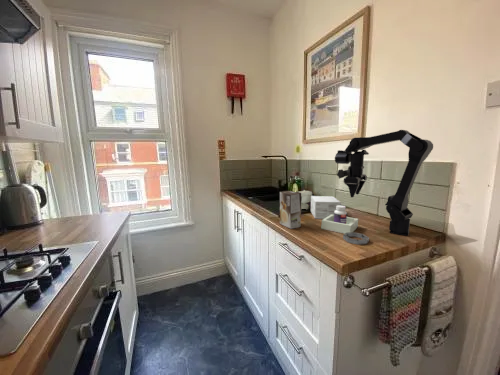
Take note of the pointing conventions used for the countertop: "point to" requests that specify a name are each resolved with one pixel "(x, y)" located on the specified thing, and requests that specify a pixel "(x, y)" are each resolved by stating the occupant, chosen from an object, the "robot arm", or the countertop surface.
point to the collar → (355, 241)
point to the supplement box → (323, 206)
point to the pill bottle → (340, 214)
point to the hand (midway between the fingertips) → (354, 195)
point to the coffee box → (290, 209)
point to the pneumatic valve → (305, 198)
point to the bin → (339, 225)
